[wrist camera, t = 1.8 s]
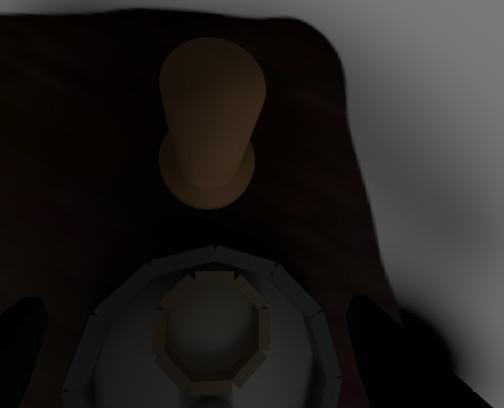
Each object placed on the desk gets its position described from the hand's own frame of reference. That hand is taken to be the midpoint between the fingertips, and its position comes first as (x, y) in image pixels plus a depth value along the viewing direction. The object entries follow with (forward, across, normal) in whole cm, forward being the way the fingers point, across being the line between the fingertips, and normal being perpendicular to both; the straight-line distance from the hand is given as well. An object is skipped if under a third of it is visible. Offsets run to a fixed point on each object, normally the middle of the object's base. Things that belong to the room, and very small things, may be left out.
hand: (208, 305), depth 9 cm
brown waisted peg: (+15, 0, +4) cm, 16 cm away
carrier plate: (+6, -1, +14) cm, 15 cm away
